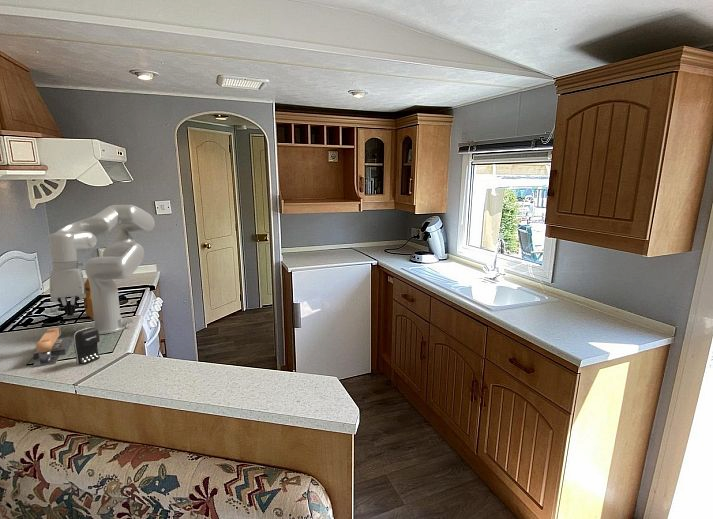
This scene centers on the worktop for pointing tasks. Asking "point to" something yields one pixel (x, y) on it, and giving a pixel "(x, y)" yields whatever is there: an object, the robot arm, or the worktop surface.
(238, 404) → the worktop surface
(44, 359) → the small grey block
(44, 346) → the swing bar
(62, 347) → the label panel
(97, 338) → the battery charger
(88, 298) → the coffee package
